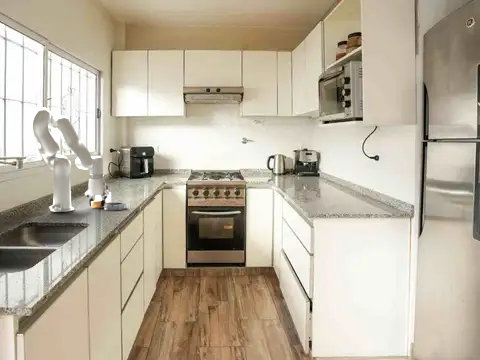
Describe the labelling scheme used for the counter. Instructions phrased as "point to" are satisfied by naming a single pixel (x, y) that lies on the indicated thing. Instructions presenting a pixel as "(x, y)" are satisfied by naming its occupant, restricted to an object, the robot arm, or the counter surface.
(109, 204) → the faceted metal bowl
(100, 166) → the robot arm
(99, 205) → the pale yellow rounded lump
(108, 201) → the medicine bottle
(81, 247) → the counter surface
